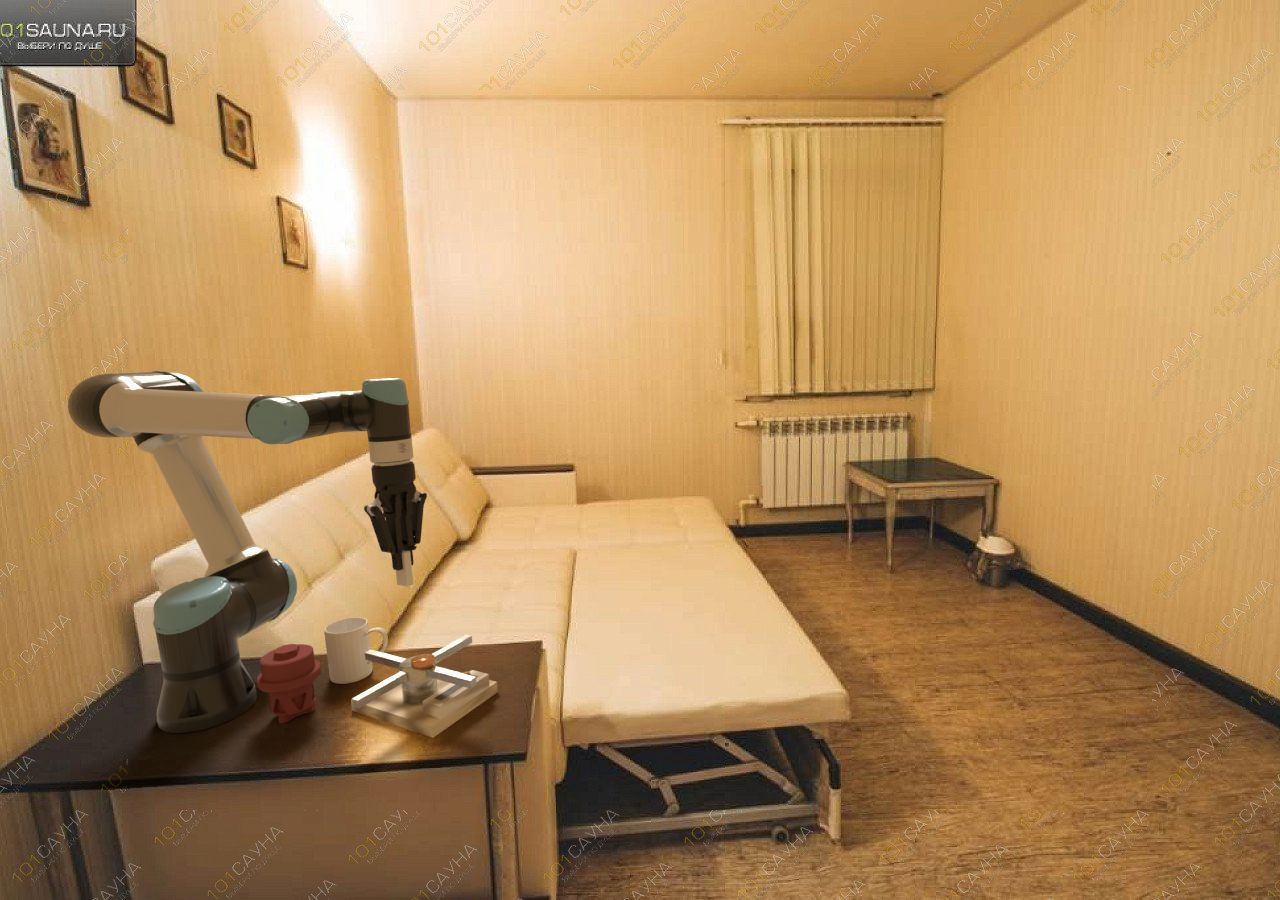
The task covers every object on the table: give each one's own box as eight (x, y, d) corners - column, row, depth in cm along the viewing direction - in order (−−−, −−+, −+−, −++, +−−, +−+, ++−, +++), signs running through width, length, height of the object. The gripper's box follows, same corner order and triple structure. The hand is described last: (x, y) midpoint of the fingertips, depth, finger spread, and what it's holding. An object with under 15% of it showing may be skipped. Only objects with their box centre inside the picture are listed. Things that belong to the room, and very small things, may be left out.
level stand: (352, 710, 116) (348, 678, 115) (420, 671, 130) (417, 642, 129) (433, 737, 106) (429, 703, 106) (497, 691, 120) (495, 660, 119)
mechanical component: (337, 700, 120) (299, 731, 110) (290, 697, 122) (248, 727, 112) (330, 637, 118) (290, 663, 108) (282, 635, 120) (239, 660, 110)
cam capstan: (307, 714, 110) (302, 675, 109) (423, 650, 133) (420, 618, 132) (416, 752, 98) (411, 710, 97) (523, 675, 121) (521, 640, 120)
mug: (321, 684, 126) (315, 633, 125) (344, 665, 134) (338, 616, 132) (380, 685, 125) (375, 633, 123) (400, 665, 133) (395, 617, 131)
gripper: (377, 469, 112) (391, 599, 116) (433, 457, 123) (445, 575, 127) (348, 467, 116) (363, 593, 119) (406, 456, 127) (417, 571, 130)
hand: (405, 584), depth 123 cm, fingers closed
